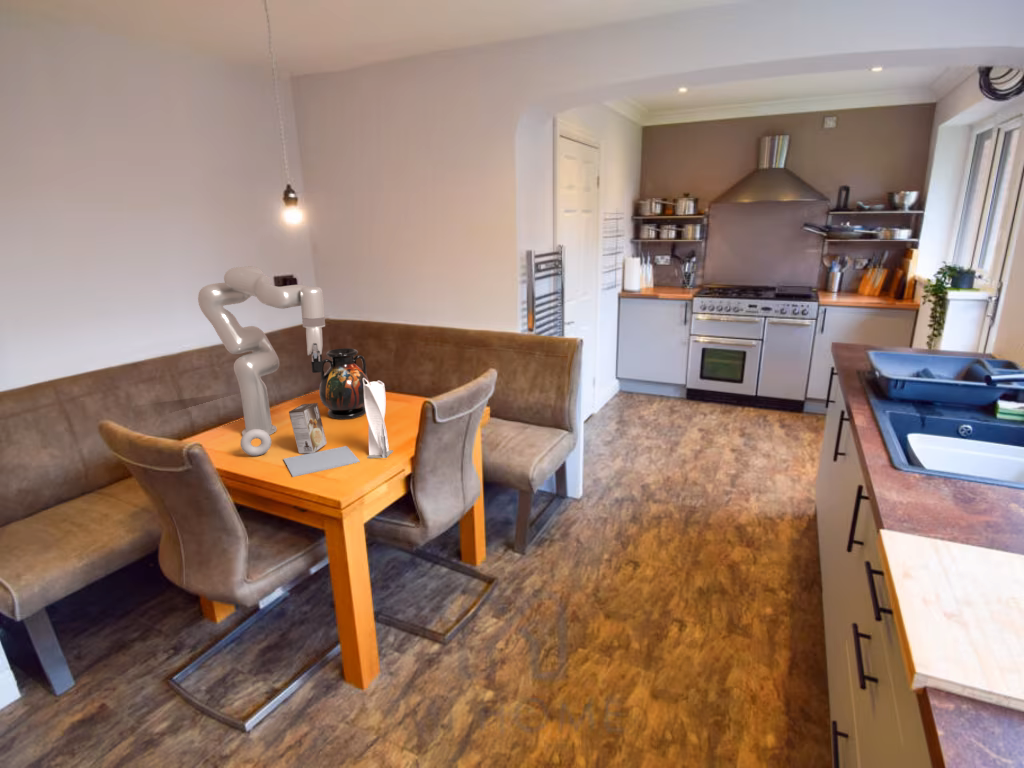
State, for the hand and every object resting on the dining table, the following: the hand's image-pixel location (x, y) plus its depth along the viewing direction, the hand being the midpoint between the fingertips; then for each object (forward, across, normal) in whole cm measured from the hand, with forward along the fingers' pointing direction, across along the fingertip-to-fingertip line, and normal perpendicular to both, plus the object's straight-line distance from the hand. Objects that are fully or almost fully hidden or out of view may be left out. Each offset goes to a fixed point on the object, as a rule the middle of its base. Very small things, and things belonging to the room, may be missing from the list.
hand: (317, 368), depth 202 cm
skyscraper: (+28, +18, +19) cm, 39 cm away
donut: (+29, +6, -22) cm, 37 cm away
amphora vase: (+29, -32, +10) cm, 44 cm away
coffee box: (+28, +7, -3) cm, 29 cm away
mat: (+28, +19, 0) cm, 34 cm away
